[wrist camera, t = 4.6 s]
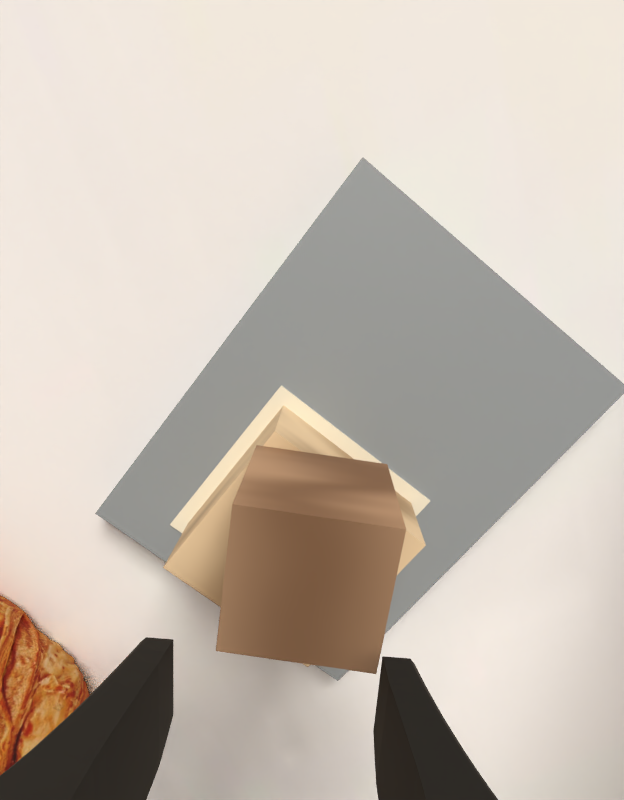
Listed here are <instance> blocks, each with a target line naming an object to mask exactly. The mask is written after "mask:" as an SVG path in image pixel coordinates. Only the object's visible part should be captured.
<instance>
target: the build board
mask: <svg viewBox="0 0 624 800" xmlns="http://www.w3.org/2000/svg"><path fill="white" fill-rule="evenodd" d="M623 394H624V384H623V383H622V382H621V381H620V380H619V379H617V378H616V377H615V376H614V375H613V374H612V373H611V372H609V371H608V370H607V369H606V368H605V367H604V366H602V365H601V364H600V363H599V362H598V361H597V360H596V359H594V358H593V357H592V356H591V355H590V354H589V353H587V352H586V351H585V350H584V349H583V348H582V347H581V346H579V345H578V344H577V343H576V342H575V341H574V340H573V339H571V338H570V337H569V336H568V335H567V334H566V333H564V332H563V331H562V330H561V329H560V328H559V327H558V326H556V325H555V324H554V323H553V322H552V321H551V320H550V319H548V318H547V317H546V316H545V315H544V314H543V313H541V312H540V311H539V310H538V309H537V308H536V307H535V306H533V305H532V304H531V303H530V302H529V301H528V300H526V299H525V298H524V297H523V296H522V295H521V294H520V293H518V292H517V291H516V290H515V289H514V288H513V287H512V286H510V285H509V284H508V283H507V282H506V281H505V280H503V279H502V278H501V277H500V276H499V275H498V274H497V273H495V272H494V271H493V270H492V269H491V268H490V267H489V266H487V265H486V264H485V263H484V262H483V261H482V260H480V259H479V258H478V257H477V256H476V255H475V254H474V253H472V252H471V251H470V250H469V249H468V248H467V247H465V246H464V245H463V244H462V243H461V242H460V241H459V240H457V239H456V238H455V237H454V236H453V235H452V234H451V233H449V232H448V231H447V230H446V229H445V228H444V227H442V226H441V225H440V224H439V223H438V222H437V221H436V220H434V219H433V218H432V217H431V216H430V215H429V214H428V213H426V212H425V211H424V210H423V209H422V208H421V207H419V206H418V205H417V204H416V203H415V202H414V201H413V200H411V199H410V198H409V197H408V196H407V195H406V194H404V193H403V192H402V191H401V190H400V189H399V188H398V187H396V186H395V185H394V184H393V183H392V182H391V181H390V180H388V179H387V178H386V177H385V176H384V175H383V174H381V173H380V172H379V171H378V170H377V169H376V168H375V167H373V166H372V165H371V164H370V163H369V162H368V161H367V160H365V159H364V158H362V159H361V160H360V162H359V163H358V164H357V166H356V167H355V168H354V170H353V171H352V172H351V174H350V175H349V176H348V178H347V179H346V180H345V181H344V183H343V184H342V185H341V187H340V188H339V189H338V191H337V192H336V193H335V195H334V196H333V197H332V199H331V200H330V201H329V203H328V204H327V205H326V207H325V208H324V209H323V211H322V212H321V213H320V215H319V216H318V217H317V219H316V220H315V221H314V223H313V224H312V225H311V227H310V228H309V229H308V231H307V232H306V233H305V235H304V236H303V237H302V239H301V240H300V241H299V243H298V244H297V245H296V247H295V248H294V249H293V251H292V252H291V253H290V255H289V256H288V257H287V259H286V260H285V261H284V263H283V264H282V265H281V267H280V268H279V269H278V271H277V272H276V273H275V275H274V276H273V277H272V279H271V280H270V281H269V283H268V284H267V285H266V287H265V288H264V289H263V291H262V292H261V293H260V295H259V296H258V297H257V299H256V300H255V301H254V303H253V304H252V305H251V307H250V308H249V309H248V311H247V312H246V313H245V315H244V316H243V317H242V319H241V320H240V321H239V323H238V324H237V325H236V327H235V328H234V329H233V331H232V332H231V333H230V335H229V336H228V337H227V339H226V340H225V341H224V343H223V344H222V345H221V347H220V348H219V349H218V351H217V352H216V353H215V355H214V356H213V357H212V359H211V360H210V361H209V363H208V364H207V365H206V367H205V368H204V369H203V371H202V372H201V373H200V375H199V376H198V377H197V379H196V380H195V381H194V383H193V384H192V385H191V387H190V388H189V389H188V391H187V392H186V393H185V395H184V396H183V397H182V399H181V400H180V401H179V403H178V404H177V405H176V407H175V408H174V409H173V411H172V412H171V413H170V415H169V416H168V417H167V419H166V420H165V421H164V423H163V424H162V425H161V427H160V428H159V429H158V431H157V432H156V433H155V435H154V436H153V437H152V439H151V440H150V441H149V443H148V444H147V445H146V447H145V448H144V449H143V451H142V452H141V453H140V455H139V456H138V457H137V459H136V460H135V461H134V463H133V464H132V465H131V467H130V468H129V469H128V471H127V472H126V473H125V475H124V476H123V477H122V479H121V480H120V481H119V483H118V484H117V485H116V487H115V488H114V489H113V491H112V492H111V493H110V495H109V496H108V497H107V499H106V500H105V501H104V503H103V504H102V505H101V507H100V508H99V509H98V511H97V512H96V513H95V514H97V515H98V516H100V517H101V518H103V519H104V520H106V521H107V522H109V523H110V524H111V525H113V526H114V527H116V528H117V529H119V530H120V531H122V532H123V533H124V534H126V535H127V536H129V537H130V538H132V539H133V540H135V541H136V542H137V543H139V544H140V545H142V546H143V547H145V548H146V549H148V550H149V551H151V552H152V553H153V554H155V555H156V556H158V557H159V558H161V559H162V560H164V561H165V562H167V560H168V558H169V556H170V555H171V553H172V551H173V549H174V547H175V546H176V544H177V542H178V540H179V538H180V537H181V535H182V533H183V531H184V529H185V528H186V526H187V524H188V522H189V521H190V520H191V519H192V518H193V516H194V515H195V514H196V513H197V511H198V510H199V509H200V508H201V506H202V505H203V504H204V503H205V501H206V500H207V499H208V498H209V497H210V495H211V494H212V493H213V492H214V490H215V489H216V488H217V487H218V485H219V484H220V483H221V482H222V480H223V479H224V478H225V477H226V476H227V474H228V473H229V472H230V471H231V469H232V468H233V467H234V466H235V464H236V463H237V462H238V461H239V460H240V458H241V457H242V456H243V455H244V453H245V452H246V451H247V450H248V448H249V447H250V446H251V445H252V443H253V442H254V441H255V440H256V439H257V437H258V436H259V435H260V434H261V432H262V431H263V430H264V429H265V427H266V426H267V425H268V424H269V422H270V421H271V420H272V419H273V418H274V416H275V415H276V414H277V413H278V411H279V410H280V409H281V408H282V406H283V405H284V406H286V407H287V408H288V409H289V410H291V411H292V412H293V413H295V414H296V415H297V416H299V417H300V418H301V419H302V420H304V421H305V422H306V423H308V424H309V425H310V426H312V427H313V428H314V429H315V430H317V431H318V432H319V433H321V434H322V435H323V436H325V437H326V438H327V439H329V440H330V441H331V442H332V443H334V444H335V445H336V446H338V447H339V448H340V449H342V450H343V451H344V452H345V453H347V454H348V455H349V456H351V457H352V458H353V459H356V460H363V461H370V462H376V463H383V464H387V465H388V468H389V472H390V475H391V479H392V482H393V485H394V489H395V491H396V492H398V493H399V494H400V495H401V496H403V497H404V498H405V499H407V500H408V501H409V502H411V504H412V507H413V510H414V512H415V515H416V518H417V521H418V524H419V527H420V530H421V533H422V536H423V538H424V541H425V544H426V546H425V547H424V548H423V549H422V550H421V551H420V552H419V553H418V554H417V555H416V556H415V557H414V558H413V559H412V560H411V561H410V562H409V563H408V564H407V565H406V566H405V567H404V568H403V569H402V570H401V572H400V573H399V574H398V575H397V576H396V581H395V586H394V591H393V596H392V600H391V605H390V610H389V615H388V619H387V624H386V629H385V633H386V632H387V631H388V630H389V629H390V628H391V627H392V626H393V625H394V624H395V623H396V622H397V621H398V620H399V619H400V618H401V617H402V616H403V615H404V614H405V613H406V612H407V611H408V610H409V609H410V608H411V607H412V606H413V605H414V604H415V603H416V602H417V601H418V600H419V599H420V598H421V597H422V596H423V595H424V594H425V593H426V592H427V591H428V590H429V589H430V588H431V587H432V586H433V585H434V584H435V583H436V582H437V581H438V580H439V579H440V578H441V577H442V576H443V575H444V574H445V573H446V572H447V571H448V570H449V569H450V568H451V567H452V566H453V565H454V564H455V563H456V562H457V561H458V560H459V559H460V558H461V557H462V556H463V555H464V554H465V553H466V552H467V551H468V550H469V549H470V548H471V547H472V546H473V545H474V544H475V543H476V542H477V541H478V540H479V539H480V538H481V537H482V536H483V535H484V534H485V533H486V532H487V531H488V530H489V529H490V528H491V527H492V526H493V525H494V523H495V522H496V521H497V520H498V519H499V518H500V517H501V516H502V515H503V514H504V513H505V512H506V511H507V510H508V509H509V508H510V507H511V506H512V505H513V504H514V503H515V502H516V501H517V500H518V499H519V498H520V497H521V496H522V495H523V494H524V493H525V492H526V491H527V490H528V489H529V488H530V487H531V486H532V485H533V484H534V483H535V482H536V481H537V480H538V479H539V478H540V477H541V476H542V475H543V474H544V473H545V472H546V471H547V470H548V469H549V468H550V467H551V466H552V465H553V464H554V463H555V462H556V461H557V460H558V459H559V458H560V457H561V456H562V455H563V454H564V453H565V452H566V451H567V450H568V449H569V448H570V447H571V446H572V445H573V444H574V443H575V442H576V441H577V440H578V439H579V438H580V437H581V436H582V435H583V434H584V433H585V432H586V431H587V430H588V429H589V428H590V427H591V426H592V425H593V424H594V423H595V422H596V421H597V420H598V419H599V418H600V417H601V416H602V415H603V414H604V413H605V412H606V411H607V410H608V409H609V408H610V407H611V406H612V405H613V404H614V403H615V402H616V401H617V400H618V399H619V398H620V397H621V396H622V395H623ZM316 666H317V667H318V668H320V669H321V670H323V671H324V672H326V673H327V674H329V675H330V676H331V677H333V678H334V679H336V680H337V681H338V680H339V679H340V678H341V677H342V676H343V675H344V674H345V673H346V672H347V671H348V670H345V669H338V668H331V667H324V666H318V665H316Z"/></svg>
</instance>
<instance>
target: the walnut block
mask: <svg viewBox="0 0 624 800" xmlns="http://www.w3.org/2000/svg"><path fill="white" fill-rule="evenodd" d="M405 533H406V526H405V523H404V520H403V516H402V513H401V509H400V506H399V502H398V499H397V496H396V492H395V489H394V485H393V482H392V479H391V475H390V472H389V468H388V465H387V464H383V463H376V462H370V461H363V460H356V459H349V458H342V457H335V456H328V455H321V454H315V453H308V452H301V451H294V450H287V449H280V448H273V447H266V446H259V445H256V448H255V450H254V452H253V455H252V457H251V460H250V462H249V465H248V467H247V469H246V472H245V474H244V477H243V479H242V482H241V484H240V487H239V489H238V491H237V494H236V496H235V499H234V501H233V504H232V511H231V520H230V529H229V538H228V547H227V556H226V565H225V574H224V583H223V592H222V601H221V610H220V619H219V628H218V636H217V645H216V651H220V652H227V653H234V654H241V655H248V656H255V657H262V658H269V659H276V660H283V661H290V662H297V663H304V664H311V665H318V666H324V667H331V668H338V669H345V670H352V671H359V672H366V673H373V674H376V672H377V667H378V663H379V658H380V653H381V648H382V643H383V639H384V634H385V629H386V624H387V619H388V615H389V610H390V605H391V600H392V596H393V591H394V586H395V581H396V576H397V572H398V567H399V562H400V557H401V552H402V548H403V543H404V538H405Z"/></svg>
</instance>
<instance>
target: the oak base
mask: <svg viewBox="0 0 624 800" xmlns="http://www.w3.org/2000/svg"><path fill="white" fill-rule="evenodd" d="M256 445H259V446H266V447H273V448H280V449H287V450H294V451H301V452H308V453H315V454H321V455H328V456H335V457H342V458H349V459H353V458H352V457H351V456H349V455H348V454H347V453H345V452H344V451H343V450H342V449H340V448H339V447H338V446H336V445H335V444H334V443H332V442H331V441H330V440H329V439H327V438H326V437H325V436H323V435H322V434H321V433H319V432H318V431H317V430H315V429H314V428H313V427H312V426H310V425H309V424H308V423H306V422H305V421H304V420H302V419H301V418H300V417H299V416H297V415H296V414H295V413H293V412H292V411H291V410H289V409H288V408H287V407H286V406H284V405H283V406H282V408H281V409H280V410H279V411H278V413H277V414H276V415H275V416H274V418H273V419H272V420H271V421H270V422H269V424H268V425H267V426H266V427H265V429H264V430H263V431H262V432H261V434H260V435H259V436H258V437H257V439H256V440H255V441H254V442H253V443H252V445H251V446H250V447H249V448H248V450H247V451H246V452H245V453H244V455H243V456H242V457H241V458H240V460H239V461H238V462H237V463H236V464H235V466H234V467H233V468H232V469H231V471H230V472H229V473H228V474H227V476H226V477H225V478H224V479H223V480H222V482H221V483H220V484H219V485H218V487H217V488H216V489H215V490H214V492H213V493H212V494H211V495H210V497H209V498H208V499H207V500H206V501H205V503H204V504H203V505H202V506H201V508H200V509H199V510H198V511H197V513H196V514H195V515H194V516H193V518H192V519H191V520H190V521H189V522H188V524H187V526H186V528H185V529H184V531H183V533H182V535H181V537H180V538H179V540H178V542H177V544H176V546H175V547H174V549H173V551H172V553H171V555H170V556H169V558H168V560H167V562H166V564H165V565H164V567H163V568H165V569H166V570H167V571H169V572H170V573H172V574H173V575H175V576H176V577H178V578H179V579H180V580H182V581H183V582H185V583H186V584H188V585H189V586H191V587H192V588H194V589H195V590H196V591H198V592H199V593H201V594H202V595H204V596H205V597H207V598H208V599H210V600H211V601H212V602H214V603H215V604H217V605H218V606H220V607H221V601H222V592H223V583H224V574H225V565H226V556H227V547H228V538H229V529H230V520H231V511H232V504H233V501H234V499H235V496H236V494H237V491H238V489H239V487H240V484H241V482H242V479H243V477H244V474H245V472H246V469H247V467H248V465H249V462H250V460H251V457H252V455H253V452H254V450H255V448H256ZM395 492H396V491H395ZM396 496H397V499H398V502H399V506H400V509H401V513H402V516H403V520H404V523H405V526H406V533H405V538H404V543H403V548H402V552H401V557H400V562H399V567H398V572H397V575H398V574H399V573H400V572H401V570H402V569H403V568H404V567H405V566H406V565H407V564H408V563H409V562H410V561H411V560H412V559H413V558H414V557H415V556H416V555H417V554H418V553H419V552H420V551H421V550H422V549H423V548H424V547H425V546H426V544H425V541H424V538H423V536H422V533H421V530H420V527H419V524H418V521H417V518H416V515H415V512H414V510H413V507H412V504H411V502H409V501H408V500H407V499H405V498H404V497H403V496H401V495H400V494H399V493H398V492H396ZM302 664H304V663H302ZM304 665H305V666H307V667H309V666H310V665H311V664H304Z"/></svg>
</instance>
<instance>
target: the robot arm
mask: <svg viewBox="0 0 624 800" xmlns="http://www.w3.org/2000/svg"><path fill="white" fill-rule="evenodd" d="M172 717H173V640H171V639H159V638H145V639H144V640H143V641H141V642H140V643H139V645H138V646H137V647H136V648H135V649H134V650H133V651H132V652H131V653H130V654H129V655H128V656H127V657H126V658H125V660H124V661H123V662H122V663H121V664H120V665H119V666H118V667H117V668H116V669H115V670H114V671H113V672H112V673H111V674H110V675H109V676H108V677H107V678H106V679H105V681H104V682H103V683H102V684H101V685H100V686H99V687H98V688H97V689H96V690H95V691H94V692H93V693H92V694H91V695H90V696H89V697H88V698H86V699H85V700H84V701H83V702H82V703H81V704H80V705H79V706H78V707H77V708H76V709H75V710H74V711H73V712H72V713H71V714H70V715H69V716H68V717H67V718H66V719H65V720H64V721H63V722H61V723H60V724H59V725H58V726H57V727H56V728H55V729H54V730H53V731H52V732H50V733H49V734H48V735H47V736H46V737H45V738H44V739H43V740H42V741H40V742H39V743H38V744H37V745H36V746H35V747H34V748H33V749H32V750H30V751H29V752H28V753H27V754H26V755H24V756H23V757H22V758H21V759H20V760H19V761H17V762H16V763H15V764H14V765H13V766H11V767H10V768H9V769H8V770H6V771H5V772H4V773H3V774H1V775H0V800H146V799H147V796H148V793H149V791H150V788H151V786H152V783H153V780H154V778H155V775H156V772H157V770H158V767H159V764H160V761H161V757H162V754H163V750H164V747H165V743H166V740H167V736H168V732H169V728H170V725H171V721H172ZM374 750H375V769H376V785H377V792H378V799H379V800H498V799H497V798H496V796H495V795H494V793H493V792H492V791H491V789H490V788H489V787H488V785H487V784H486V782H485V781H484V779H483V778H482V776H481V775H480V774H479V772H478V771H477V769H476V768H475V766H474V765H473V763H472V762H471V760H470V759H469V757H468V756H467V754H466V753H465V751H464V750H463V748H462V747H461V745H460V743H459V742H458V740H457V739H456V737H455V735H454V734H453V732H452V731H451V729H450V727H449V726H448V724H447V723H446V721H445V719H444V718H443V716H442V714H441V712H440V711H439V709H438V707H437V705H436V704H435V702H434V700H433V698H432V697H431V695H430V693H429V691H428V689H427V687H426V686H425V684H424V682H423V680H422V678H421V676H420V674H419V672H418V670H417V668H416V666H415V664H414V663H413V662H412V660H411V659H407V658H394V657H382V666H381V674H380V682H379V690H378V699H377V707H376V715H375V723H374Z"/></svg>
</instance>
